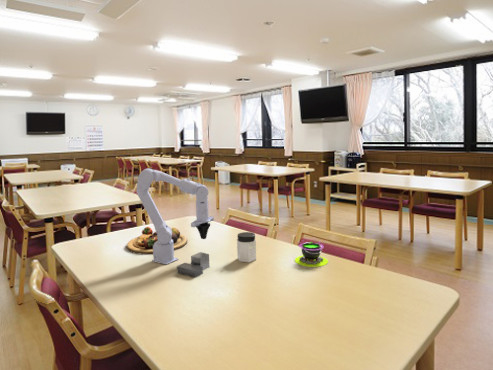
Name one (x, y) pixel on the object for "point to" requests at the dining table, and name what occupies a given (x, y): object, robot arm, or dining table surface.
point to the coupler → (190, 270)
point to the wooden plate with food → (148, 239)
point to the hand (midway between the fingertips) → (203, 238)
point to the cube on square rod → (200, 260)
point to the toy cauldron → (311, 255)
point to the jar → (246, 247)
